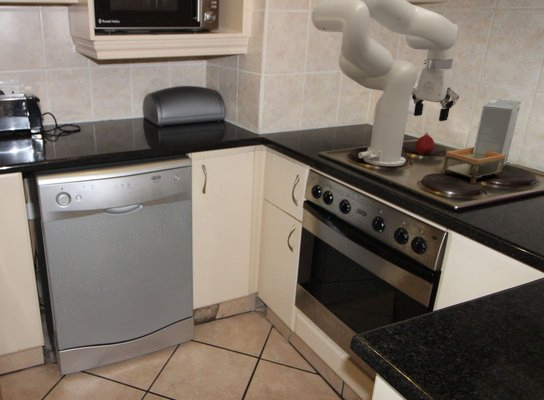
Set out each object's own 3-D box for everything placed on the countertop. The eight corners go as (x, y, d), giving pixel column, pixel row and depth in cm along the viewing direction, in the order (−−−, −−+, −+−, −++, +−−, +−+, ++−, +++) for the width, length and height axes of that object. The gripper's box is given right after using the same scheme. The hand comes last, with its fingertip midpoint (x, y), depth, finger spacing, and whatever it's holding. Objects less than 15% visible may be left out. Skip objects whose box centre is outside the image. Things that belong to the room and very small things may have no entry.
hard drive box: (479, 159, 157) (493, 98, 150) (506, 164, 152) (522, 101, 145) (468, 170, 146) (482, 105, 139) (496, 175, 141) (513, 108, 134)
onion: (435, 158, 161) (440, 134, 158) (420, 158, 160) (425, 135, 157) (424, 153, 166) (429, 130, 163) (409, 153, 165) (414, 131, 162)
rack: (473, 184, 135) (478, 160, 133) (442, 174, 144) (446, 151, 141) (500, 178, 140) (505, 154, 137) (468, 169, 148) (473, 147, 146)
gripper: (407, 63, 158) (400, 114, 164) (455, 67, 143) (445, 124, 150) (424, 62, 161) (416, 112, 167) (471, 66, 146) (461, 121, 153)
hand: (430, 118), depth 158 cm, fingers open, 9 cm apart
